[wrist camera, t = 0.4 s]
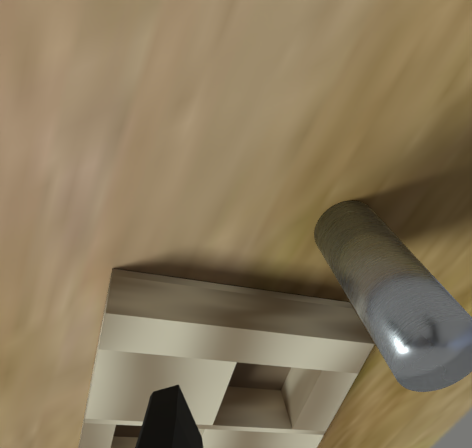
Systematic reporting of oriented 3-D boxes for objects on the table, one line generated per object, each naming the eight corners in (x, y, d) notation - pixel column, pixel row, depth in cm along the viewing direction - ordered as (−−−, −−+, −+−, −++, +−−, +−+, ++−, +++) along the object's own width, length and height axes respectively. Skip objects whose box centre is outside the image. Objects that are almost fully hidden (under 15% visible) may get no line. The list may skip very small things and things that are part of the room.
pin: (386, 207, 20) (505, 326, 13) (360, 261, 21) (456, 394, 15) (328, 195, 19) (422, 314, 12) (305, 251, 21) (378, 388, 14)
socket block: (349, 302, 23) (374, 344, 20) (276, 449, 28) (288, 498, 25) (112, 268, 19) (105, 313, 17) (79, 442, 25) (69, 496, 22)
